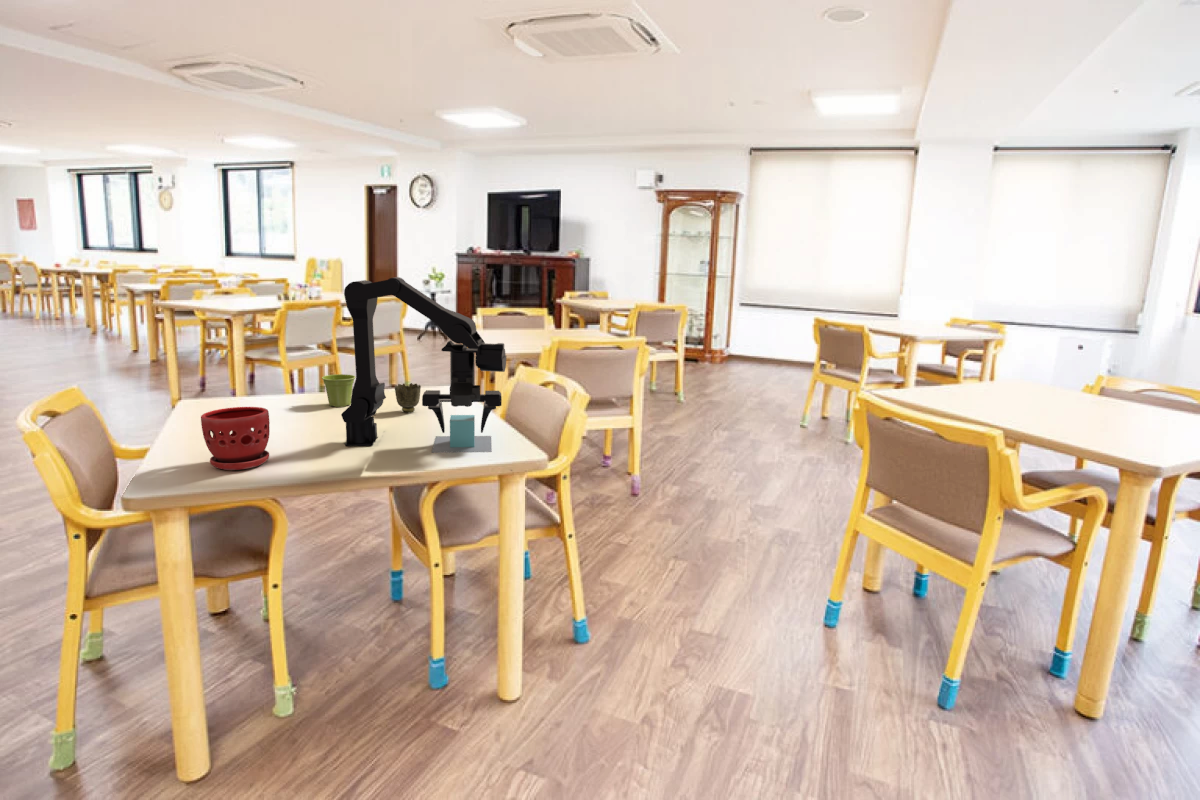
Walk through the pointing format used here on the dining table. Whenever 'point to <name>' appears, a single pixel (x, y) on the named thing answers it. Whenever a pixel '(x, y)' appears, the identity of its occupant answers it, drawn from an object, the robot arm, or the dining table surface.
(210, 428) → the plant pot
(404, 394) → the scalloped urn planter
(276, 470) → the dining table surface
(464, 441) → the teal block
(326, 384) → the plant pot
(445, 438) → the base board
